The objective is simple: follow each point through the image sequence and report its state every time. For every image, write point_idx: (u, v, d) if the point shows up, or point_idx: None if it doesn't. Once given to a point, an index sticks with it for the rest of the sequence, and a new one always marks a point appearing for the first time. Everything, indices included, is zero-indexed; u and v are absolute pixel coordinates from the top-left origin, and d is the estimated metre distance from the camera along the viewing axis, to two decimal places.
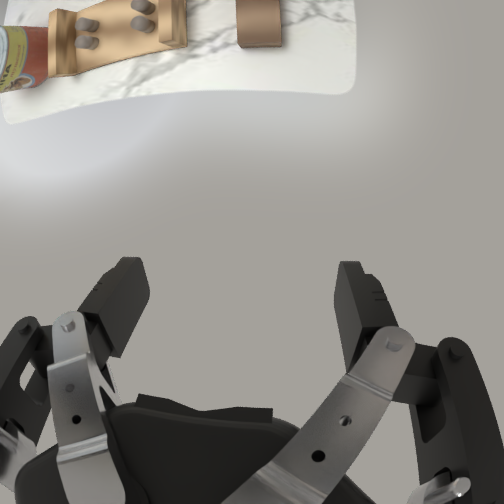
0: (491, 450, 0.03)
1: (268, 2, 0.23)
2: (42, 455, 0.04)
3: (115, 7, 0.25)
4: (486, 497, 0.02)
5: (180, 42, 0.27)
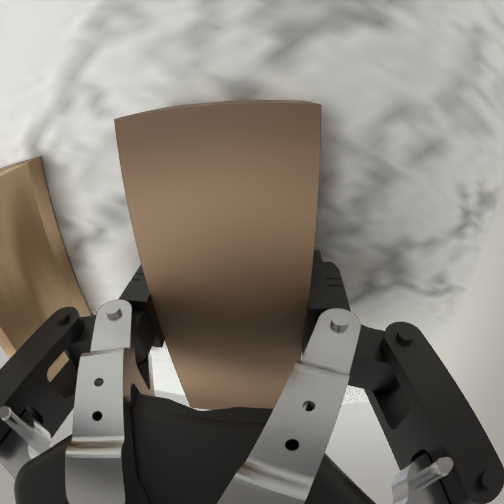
0: (466, 424, 0.04)
1: (268, 341, 0.10)
2: (41, 455, 0.04)
3: None
4: (473, 470, 0.03)
5: None
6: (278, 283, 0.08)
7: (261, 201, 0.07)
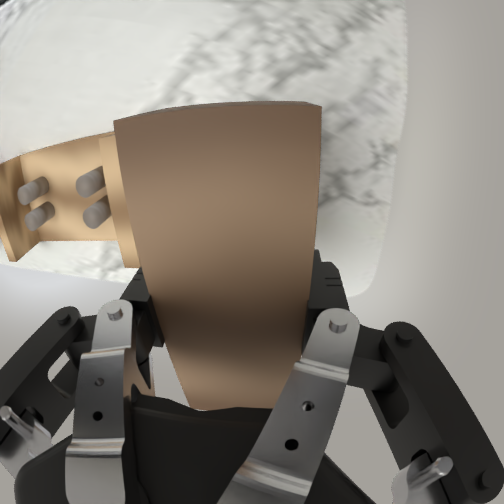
0: (466, 424, 0.04)
1: (267, 343, 0.10)
2: (41, 455, 0.04)
3: (61, 162, 0.24)
4: (473, 469, 0.03)
5: None
6: (278, 285, 0.08)
7: (262, 203, 0.07)
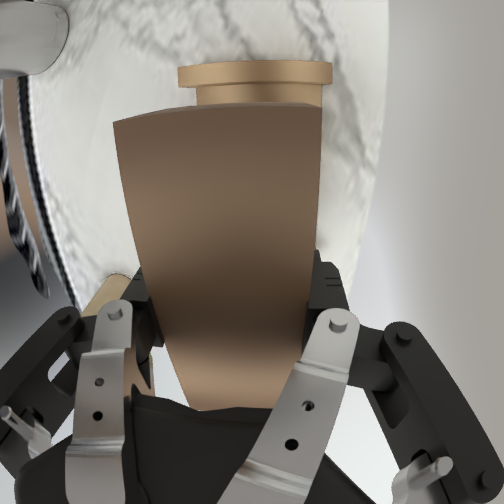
0: (465, 424, 0.04)
1: (268, 345, 0.10)
2: (42, 455, 0.04)
3: None
4: (473, 469, 0.03)
5: None
6: (278, 286, 0.08)
7: (261, 204, 0.07)
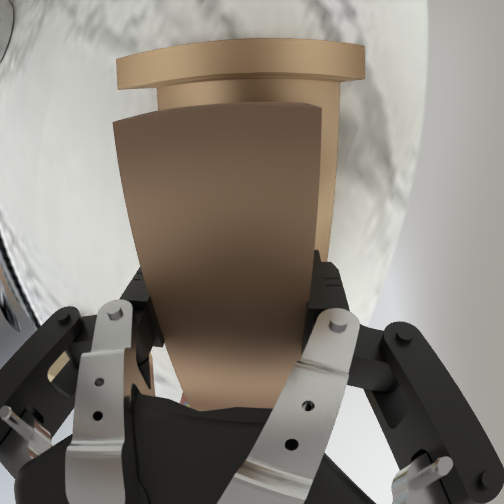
0: (465, 424, 0.04)
1: (267, 345, 0.10)
2: (42, 455, 0.04)
3: None
4: (473, 469, 0.03)
5: None
6: (278, 286, 0.08)
7: (261, 204, 0.07)
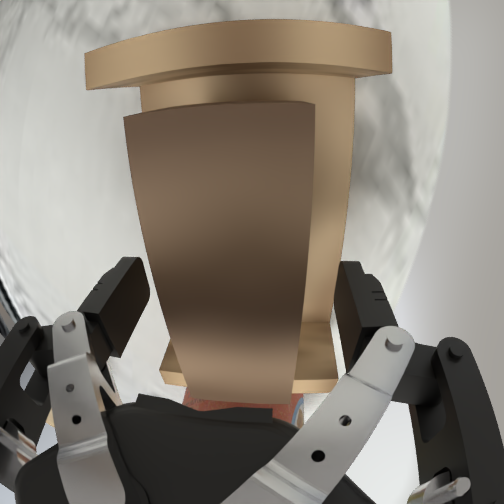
0: (491, 450, 0.03)
1: (266, 329, 0.10)
2: (41, 455, 0.04)
3: None
4: (486, 497, 0.02)
5: None
6: (276, 271, 0.09)
7: (260, 193, 0.08)
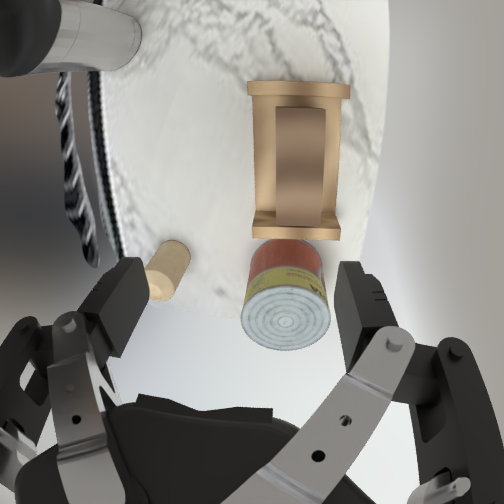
0: (491, 450, 0.03)
1: (312, 178, 0.29)
2: (41, 455, 0.04)
3: (269, 160, 0.36)
4: (486, 497, 0.02)
5: None
6: (315, 154, 0.28)
7: (311, 131, 0.27)
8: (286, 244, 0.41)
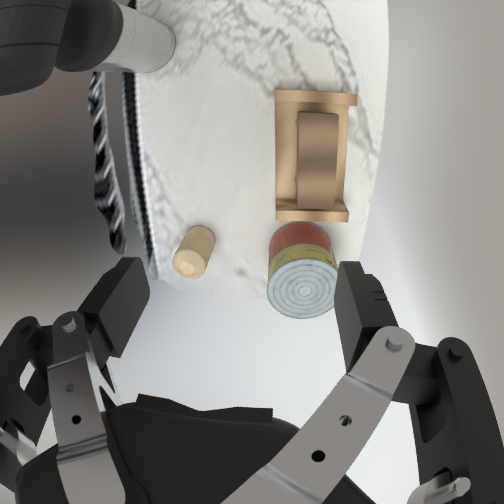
0: (492, 450, 0.03)
1: (327, 169, 0.36)
2: (42, 455, 0.04)
3: (288, 155, 0.42)
4: (486, 497, 0.02)
5: None
6: (330, 151, 0.34)
7: (327, 132, 0.33)
8: (302, 227, 0.47)
